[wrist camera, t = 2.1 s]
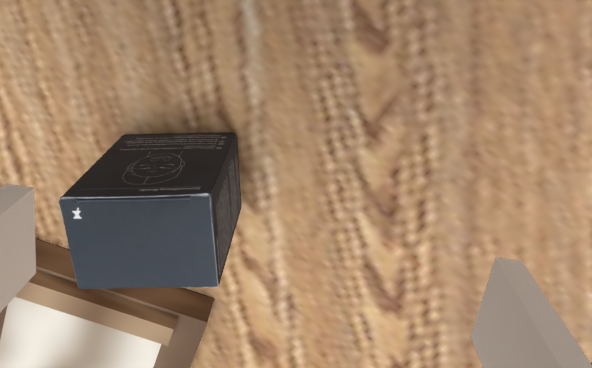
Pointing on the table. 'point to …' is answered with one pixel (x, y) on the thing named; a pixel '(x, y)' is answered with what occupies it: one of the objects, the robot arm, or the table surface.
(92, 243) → the box
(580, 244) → the table surface
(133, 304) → the stand
